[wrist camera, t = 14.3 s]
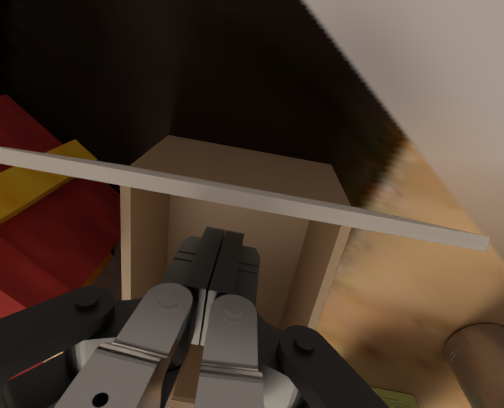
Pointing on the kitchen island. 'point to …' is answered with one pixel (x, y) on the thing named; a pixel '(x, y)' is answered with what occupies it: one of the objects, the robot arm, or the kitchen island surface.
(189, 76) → the kitchen island surface
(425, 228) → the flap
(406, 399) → the protein box
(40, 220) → the gift box
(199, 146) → the carton
